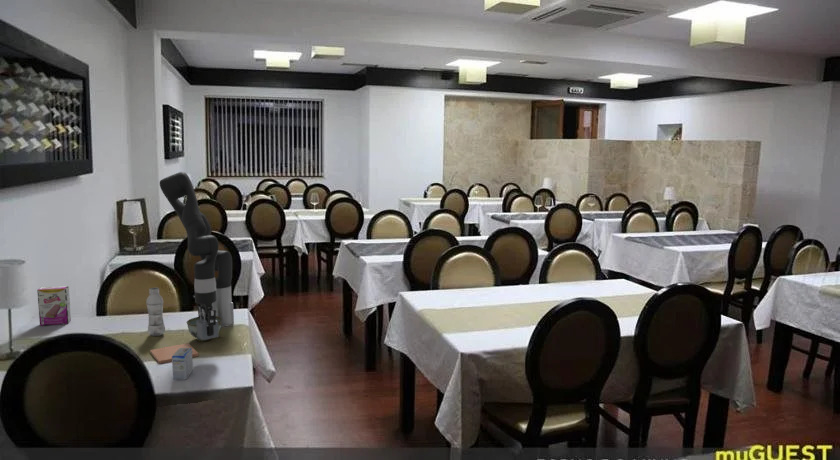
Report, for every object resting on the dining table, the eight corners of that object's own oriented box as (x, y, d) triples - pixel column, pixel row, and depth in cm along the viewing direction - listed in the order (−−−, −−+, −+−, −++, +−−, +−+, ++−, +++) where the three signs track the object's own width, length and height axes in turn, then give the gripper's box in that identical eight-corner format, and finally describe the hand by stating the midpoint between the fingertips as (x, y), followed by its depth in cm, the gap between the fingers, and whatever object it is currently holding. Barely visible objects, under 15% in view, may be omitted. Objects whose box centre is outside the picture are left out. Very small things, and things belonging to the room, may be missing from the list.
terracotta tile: (188, 345, 231) (187, 343, 231) (198, 355, 220) (198, 353, 220) (150, 352, 222) (150, 350, 222) (159, 363, 211) (159, 361, 211)
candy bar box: (39, 326, 252) (36, 289, 250) (42, 323, 257) (39, 286, 254) (68, 324, 255) (66, 287, 253) (71, 320, 260) (68, 285, 258)
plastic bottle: (159, 338, 238) (156, 291, 236) (144, 337, 240) (141, 290, 237) (168, 333, 245) (166, 287, 242) (154, 332, 246) (152, 286, 243)
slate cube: (213, 332, 221) (212, 317, 220) (218, 336, 216) (217, 321, 215) (197, 335, 217) (196, 320, 216) (202, 340, 213) (201, 324, 212)
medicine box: (180, 371, 205) (179, 347, 204) (193, 371, 205) (192, 347, 204) (172, 380, 197) (171, 355, 196) (186, 379, 197) (185, 355, 196)
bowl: (229, 335, 243) (228, 317, 242) (208, 346, 230) (207, 326, 229) (202, 332, 247) (201, 314, 246) (180, 342, 235) (179, 322, 233)
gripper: (222, 292, 211) (224, 336, 213) (209, 284, 222) (211, 326, 224) (201, 295, 206) (203, 340, 209) (189, 286, 217) (191, 330, 220)
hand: (207, 333), depth 217 cm, fingers closed on slate cube, 6 cm apart
